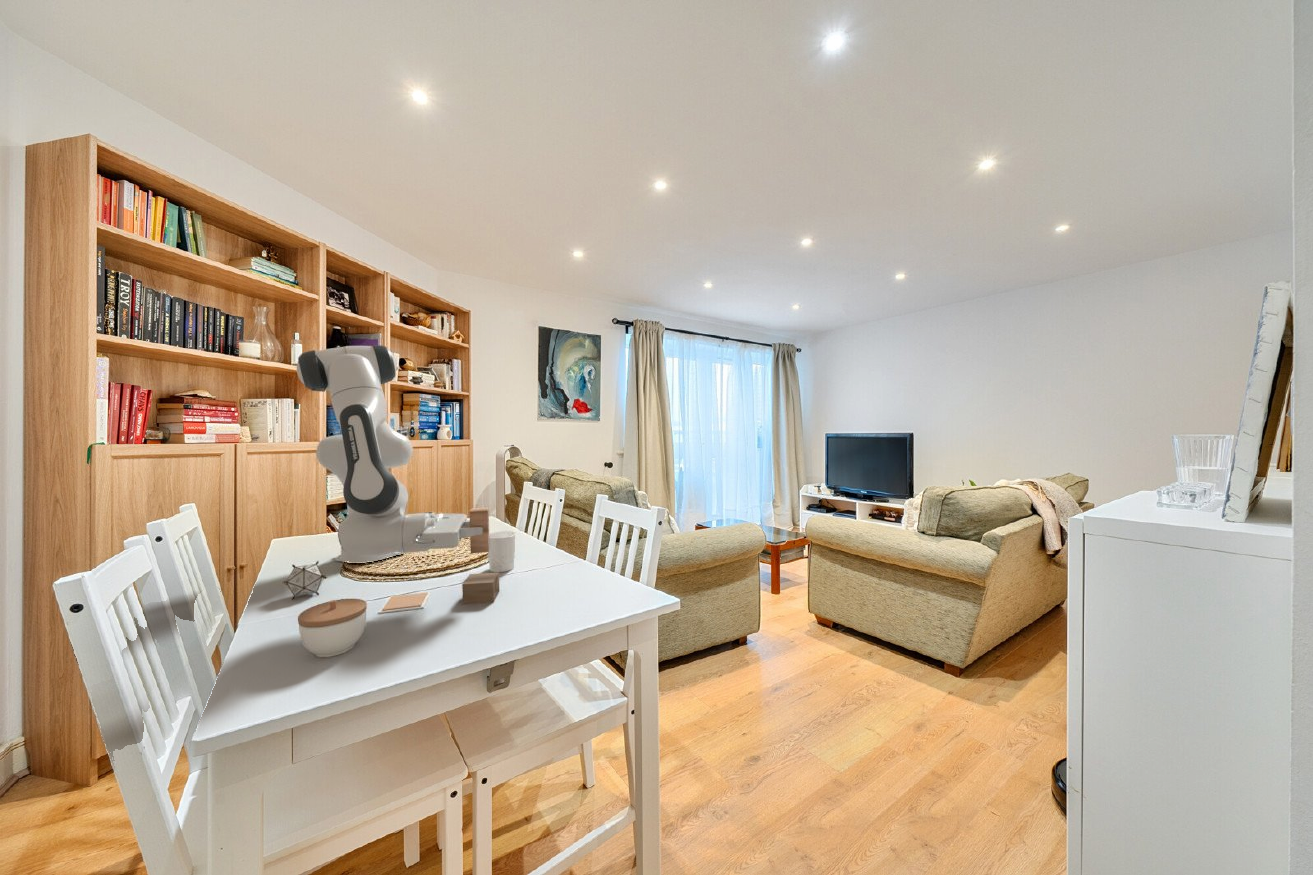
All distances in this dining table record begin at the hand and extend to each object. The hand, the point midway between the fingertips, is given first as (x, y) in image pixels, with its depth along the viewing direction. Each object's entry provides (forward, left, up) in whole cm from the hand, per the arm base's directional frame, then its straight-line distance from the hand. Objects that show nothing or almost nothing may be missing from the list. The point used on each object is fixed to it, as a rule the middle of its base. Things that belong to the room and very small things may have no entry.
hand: (483, 527), depth 112 cm
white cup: (-21, +3, -17) cm, 28 cm away
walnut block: (0, -1, -17) cm, 17 cm away
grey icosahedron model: (-15, -43, -17) cm, 49 cm away
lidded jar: (+18, -26, -17) cm, 36 cm away
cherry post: (0, -1, -5) cm, 6 cm away
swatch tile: (-2, -18, -17) cm, 25 cm away
